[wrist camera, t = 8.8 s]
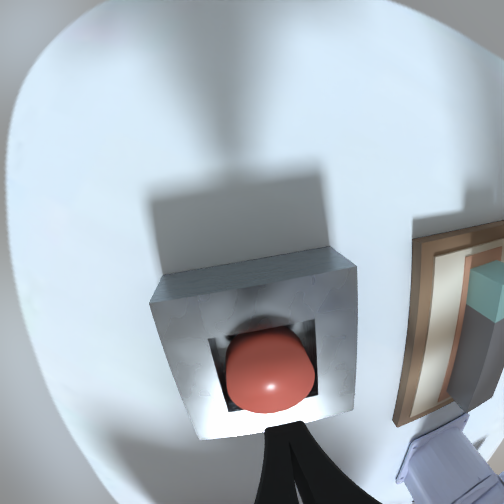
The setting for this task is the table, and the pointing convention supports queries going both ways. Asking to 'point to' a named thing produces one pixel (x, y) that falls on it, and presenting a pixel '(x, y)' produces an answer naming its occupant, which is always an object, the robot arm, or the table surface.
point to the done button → (268, 370)
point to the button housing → (257, 318)
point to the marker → (480, 339)
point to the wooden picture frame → (439, 313)
